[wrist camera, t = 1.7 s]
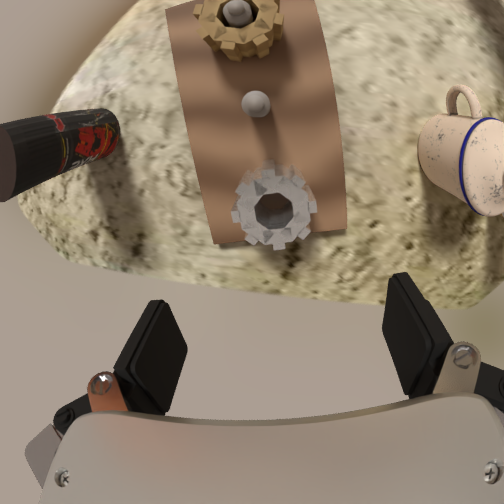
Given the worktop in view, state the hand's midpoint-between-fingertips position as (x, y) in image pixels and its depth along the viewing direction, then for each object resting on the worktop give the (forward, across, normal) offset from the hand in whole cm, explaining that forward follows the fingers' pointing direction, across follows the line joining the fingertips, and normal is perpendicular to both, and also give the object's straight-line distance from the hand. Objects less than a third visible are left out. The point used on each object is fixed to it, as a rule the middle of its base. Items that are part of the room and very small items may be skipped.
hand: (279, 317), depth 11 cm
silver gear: (+17, 0, 0) cm, 17 cm away
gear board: (+18, 0, -9) cm, 20 cm away
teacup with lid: (+19, -20, -5) cm, 28 cm away
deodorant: (+19, +18, -11) cm, 28 cm away
